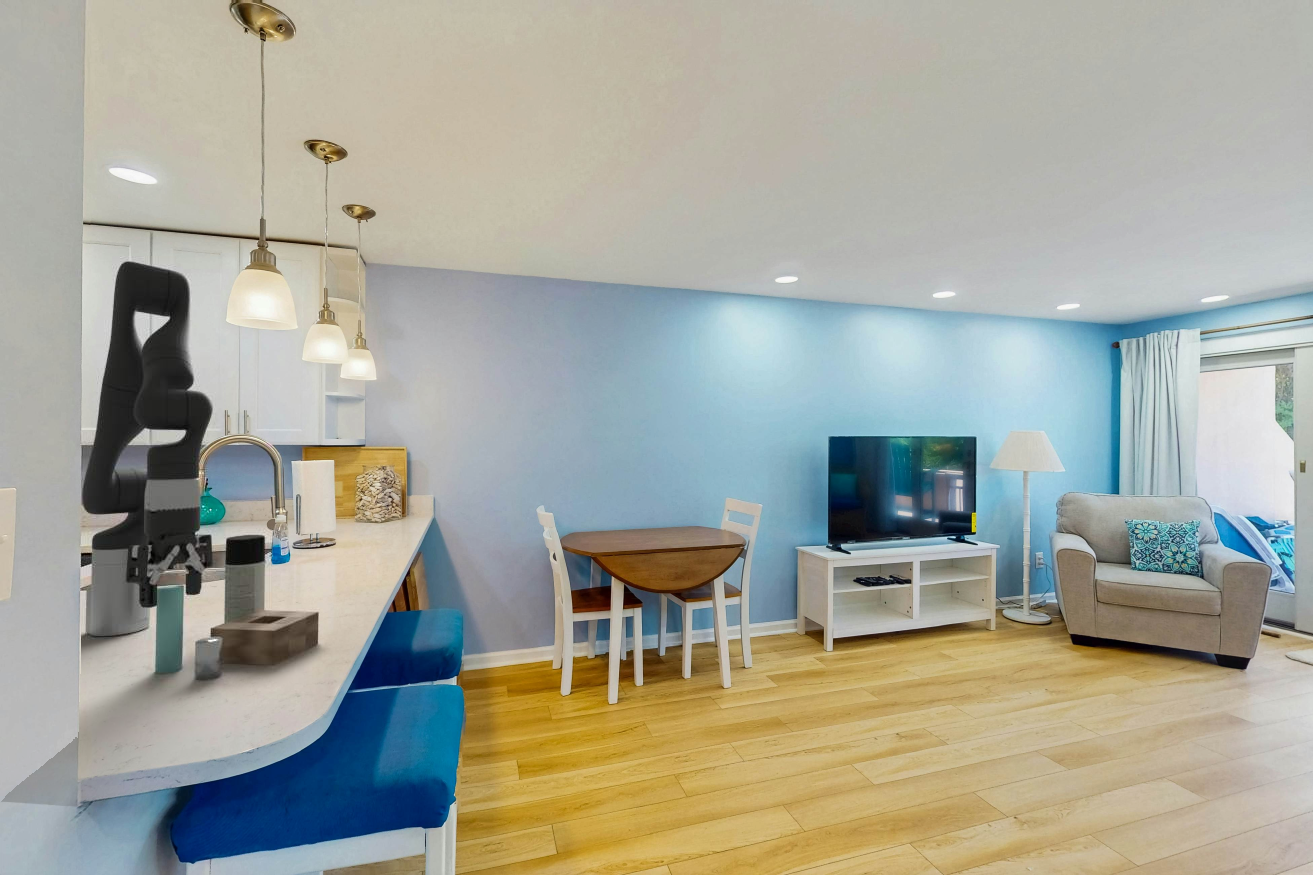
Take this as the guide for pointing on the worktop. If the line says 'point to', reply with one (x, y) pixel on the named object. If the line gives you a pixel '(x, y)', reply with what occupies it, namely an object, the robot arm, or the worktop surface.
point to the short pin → (208, 658)
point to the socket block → (267, 636)
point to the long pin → (169, 629)
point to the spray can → (244, 576)
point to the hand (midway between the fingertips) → (171, 600)
